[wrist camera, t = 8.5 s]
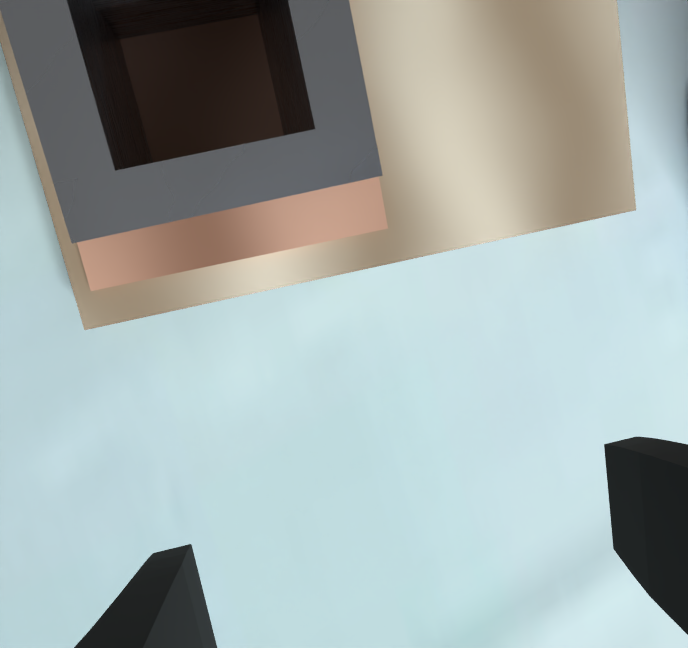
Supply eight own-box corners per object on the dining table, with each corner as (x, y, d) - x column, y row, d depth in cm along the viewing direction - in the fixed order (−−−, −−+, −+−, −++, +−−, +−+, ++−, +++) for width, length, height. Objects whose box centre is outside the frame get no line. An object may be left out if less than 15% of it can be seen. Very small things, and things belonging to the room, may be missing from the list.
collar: (287, -36, 16) (316, -169, 10) (333, 182, 17) (382, 175, 11) (65, 3, 15) (-38, -115, 10) (129, 227, 17) (71, 244, 11)
